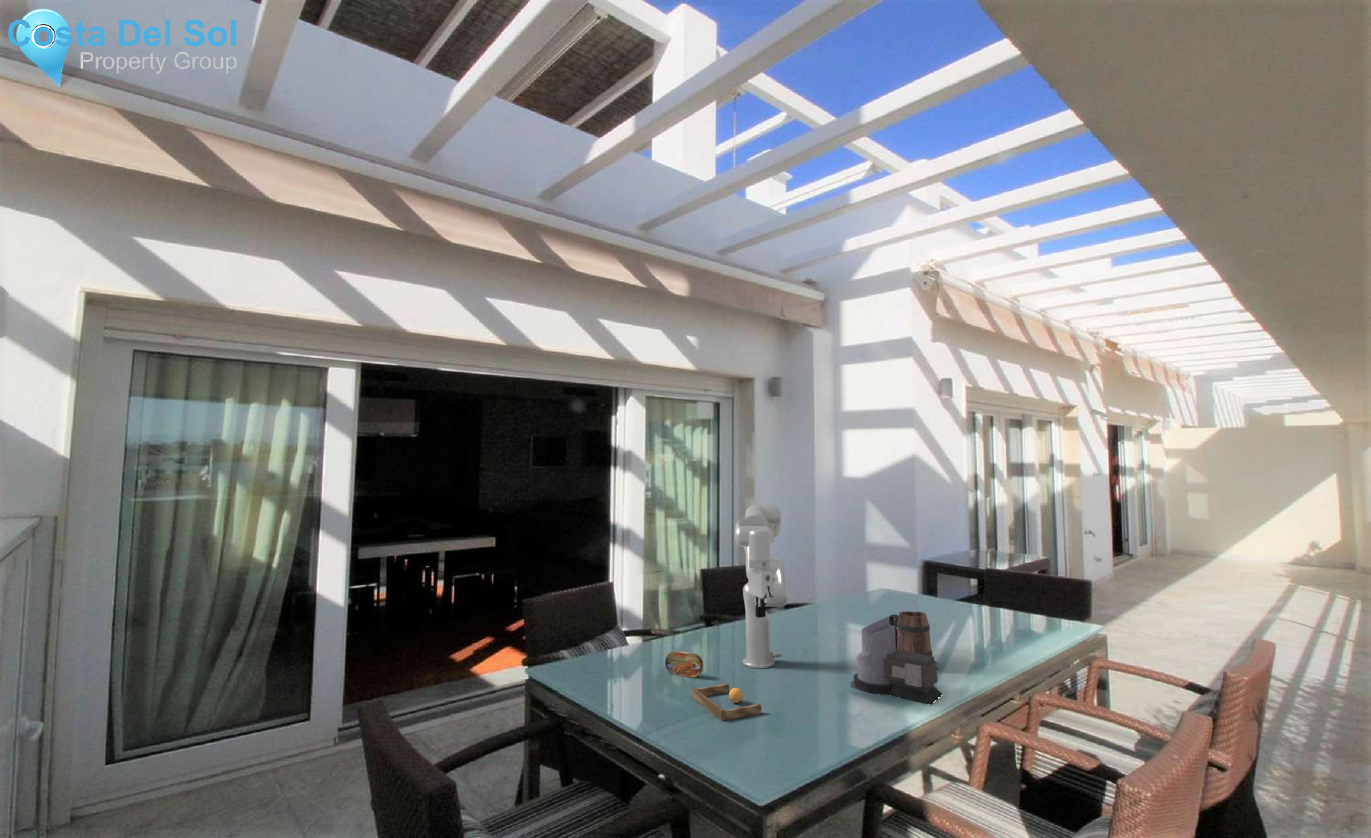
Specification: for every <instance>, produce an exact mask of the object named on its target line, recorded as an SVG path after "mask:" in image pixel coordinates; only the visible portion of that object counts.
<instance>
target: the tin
mask: <svg viewBox="0 0 1371 838" xmlns="http://www.w3.org/2000/svg"><path fill="white" fill-rule="evenodd" d="M664 661H665V662H664V663H665V665H664V666H665V669H666V670H667V672H668V673H669V674H670V675H673V676H676V675H677V676H676V677H685V678H690V679H692V678H693V679H694V678H697V677H698V676H700V674H702V672H703V671H704V670H703V669H704V662H703V659H702V658H701V656H700V655H699V654H697V653H695V652H694V653H693V652H686V651H680V650H679V651H678V650H675V651H670V653H668V654H667V655H666V656H665V660H664Z"/></svg>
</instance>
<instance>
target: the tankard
mask: <svg viewBox="0 0 1371 838" xmlns="http://www.w3.org/2000/svg"><path fill="white" fill-rule="evenodd" d="M927 616H928V615H927V614H926V613H925V612H923V611H922V612H921V611H907V610H905V611H900V612H899V613H898V614H896V613H895V614H890V615H889V616H888V617H889V626H892V625H894V626H895V641H896V650H900V651H906V652H911V653H917V654H922V655H927V656H933V651H932V647H931V645H932V644H931V633H930V630H931V629H930V627H931V626H930V624H929V620H928V617H927ZM937 670H938V671H939V667H938V666H937Z"/></svg>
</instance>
